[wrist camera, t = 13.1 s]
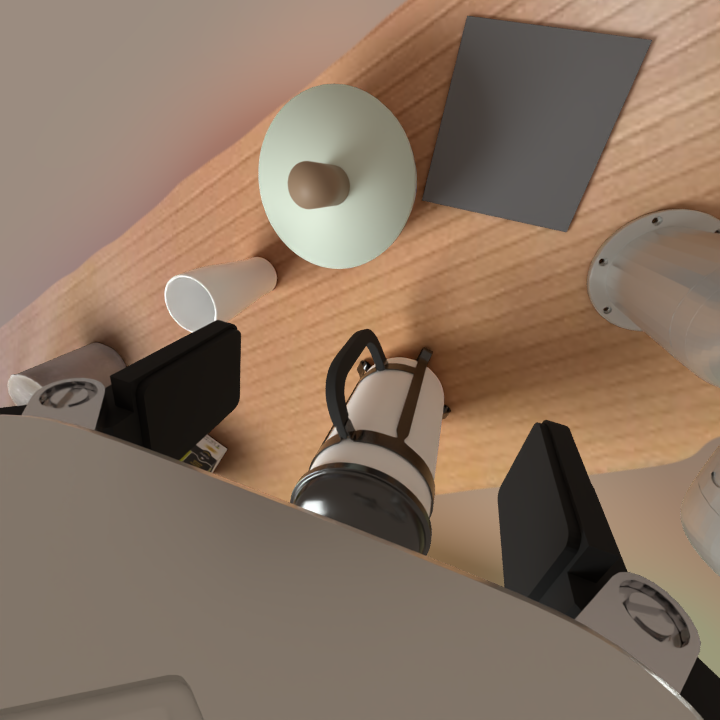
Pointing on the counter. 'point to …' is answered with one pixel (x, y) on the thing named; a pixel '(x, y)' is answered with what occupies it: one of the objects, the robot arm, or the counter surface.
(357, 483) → the coffee press
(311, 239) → the lid
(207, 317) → the drinking glass
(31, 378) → the pillar candle
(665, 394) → the counter surface
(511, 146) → the mat
